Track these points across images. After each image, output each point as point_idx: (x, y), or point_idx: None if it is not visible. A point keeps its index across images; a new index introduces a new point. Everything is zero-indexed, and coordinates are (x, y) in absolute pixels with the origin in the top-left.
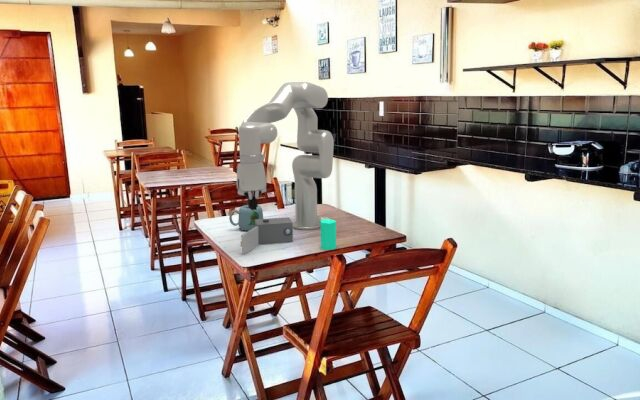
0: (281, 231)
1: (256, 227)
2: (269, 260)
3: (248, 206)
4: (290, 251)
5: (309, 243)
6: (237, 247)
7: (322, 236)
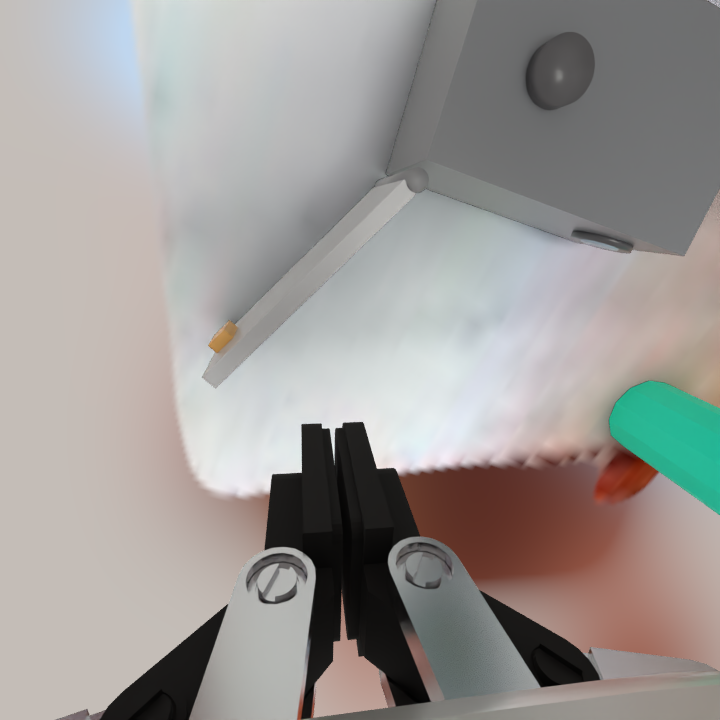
0: (567, 225)
1: (396, 213)
2: None
3: (272, 477)
4: (475, 389)
5: (626, 312)
6: (244, 156)
7: (659, 456)
